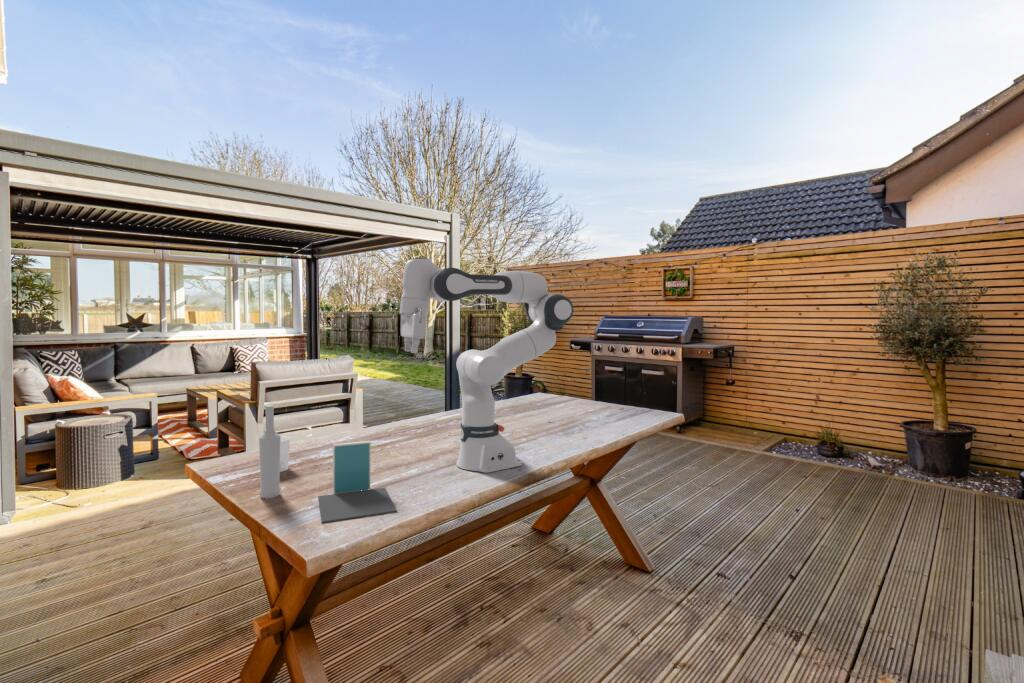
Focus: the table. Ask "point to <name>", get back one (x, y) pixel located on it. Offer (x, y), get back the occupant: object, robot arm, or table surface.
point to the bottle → (269, 457)
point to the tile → (351, 467)
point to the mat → (355, 505)
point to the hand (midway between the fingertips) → (410, 352)
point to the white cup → (284, 452)
